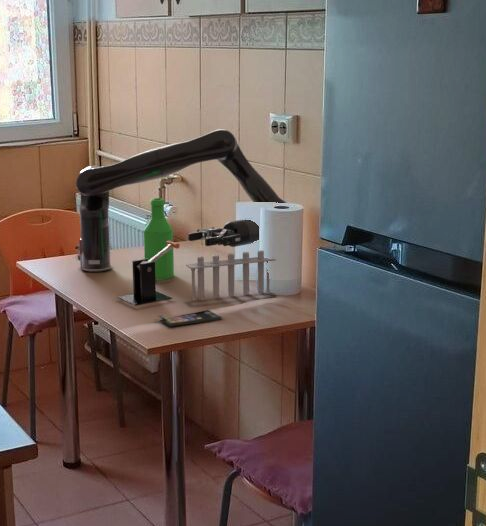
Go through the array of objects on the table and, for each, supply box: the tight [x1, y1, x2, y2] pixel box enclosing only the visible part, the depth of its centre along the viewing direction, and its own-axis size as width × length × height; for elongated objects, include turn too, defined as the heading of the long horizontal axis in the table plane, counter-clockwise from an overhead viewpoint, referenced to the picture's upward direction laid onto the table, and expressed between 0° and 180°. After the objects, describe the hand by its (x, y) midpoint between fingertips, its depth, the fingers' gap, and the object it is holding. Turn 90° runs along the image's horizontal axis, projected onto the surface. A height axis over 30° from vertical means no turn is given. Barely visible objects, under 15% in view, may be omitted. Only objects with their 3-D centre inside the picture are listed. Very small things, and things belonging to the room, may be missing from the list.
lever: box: [137, 241, 181, 272], centre depth 260 cm, size 13×5×2 cm, turn 119°
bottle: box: [143, 197, 175, 281], centre depth 281 cm, size 9×9×25 cm
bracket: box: [117, 257, 173, 307], centre depth 260 cm, size 12×10×12 cm
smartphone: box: [157, 309, 222, 327], centre depth 243 cm, size 8×15×1 cm, turn 113°
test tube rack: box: [185, 250, 277, 302], centre depth 258 cm, size 25×4×13 cm, turn 104°
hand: (197, 239), depth 266 cm, fingers open, 8 cm apart
